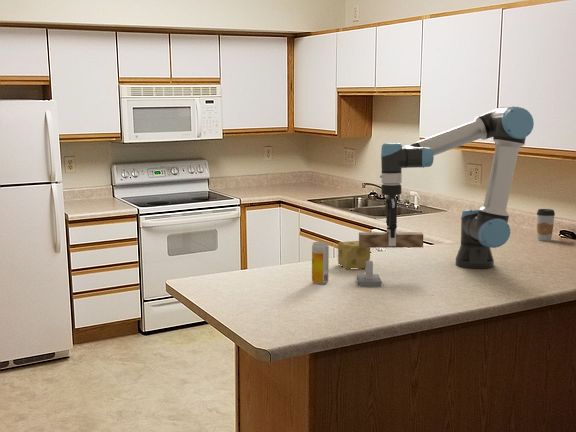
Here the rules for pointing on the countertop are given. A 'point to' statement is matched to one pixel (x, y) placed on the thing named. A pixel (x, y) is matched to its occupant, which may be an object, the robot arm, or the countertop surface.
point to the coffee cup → (545, 224)
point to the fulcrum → (369, 277)
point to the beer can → (320, 262)
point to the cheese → (352, 255)
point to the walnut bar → (383, 239)
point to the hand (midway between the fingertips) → (391, 244)
